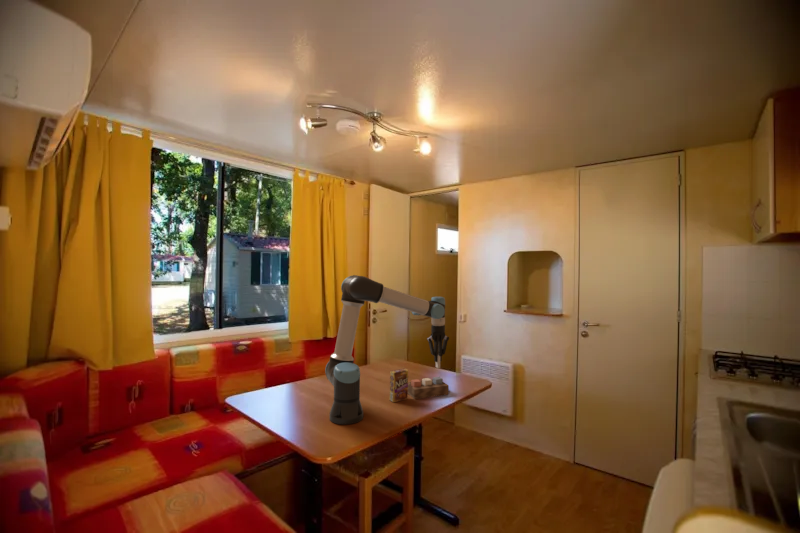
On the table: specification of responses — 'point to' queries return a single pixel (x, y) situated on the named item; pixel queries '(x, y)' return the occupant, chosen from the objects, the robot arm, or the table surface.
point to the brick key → (416, 383)
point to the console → (428, 390)
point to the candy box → (398, 385)
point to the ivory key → (426, 381)
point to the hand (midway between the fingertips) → (437, 367)
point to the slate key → (437, 380)
